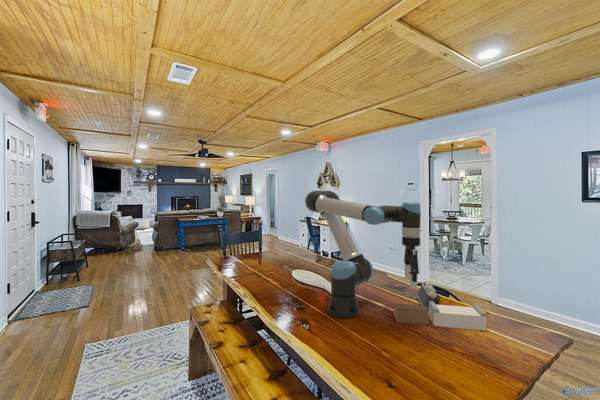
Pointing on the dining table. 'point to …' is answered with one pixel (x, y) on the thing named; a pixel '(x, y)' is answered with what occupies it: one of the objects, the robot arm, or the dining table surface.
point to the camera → (427, 295)
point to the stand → (458, 316)
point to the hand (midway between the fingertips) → (410, 283)
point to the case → (410, 314)
